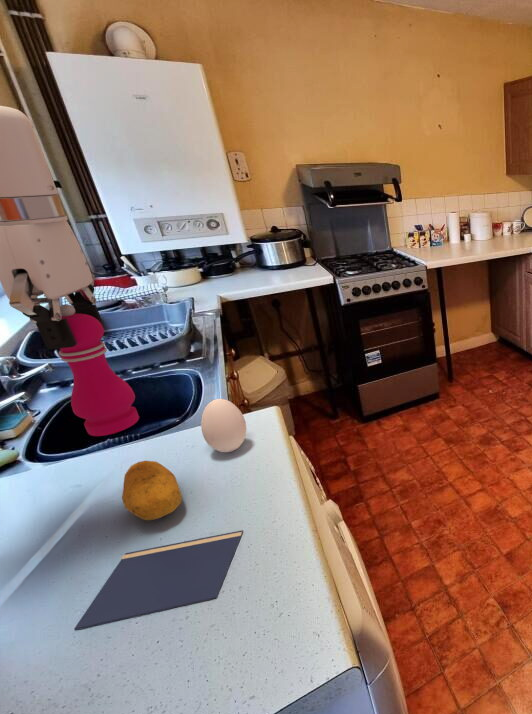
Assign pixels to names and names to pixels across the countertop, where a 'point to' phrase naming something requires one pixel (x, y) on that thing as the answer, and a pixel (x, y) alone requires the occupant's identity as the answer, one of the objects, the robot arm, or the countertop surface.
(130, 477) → the potato
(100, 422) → the pepper mill
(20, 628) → the countertop surface
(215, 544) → the napkin
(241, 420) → the egg
